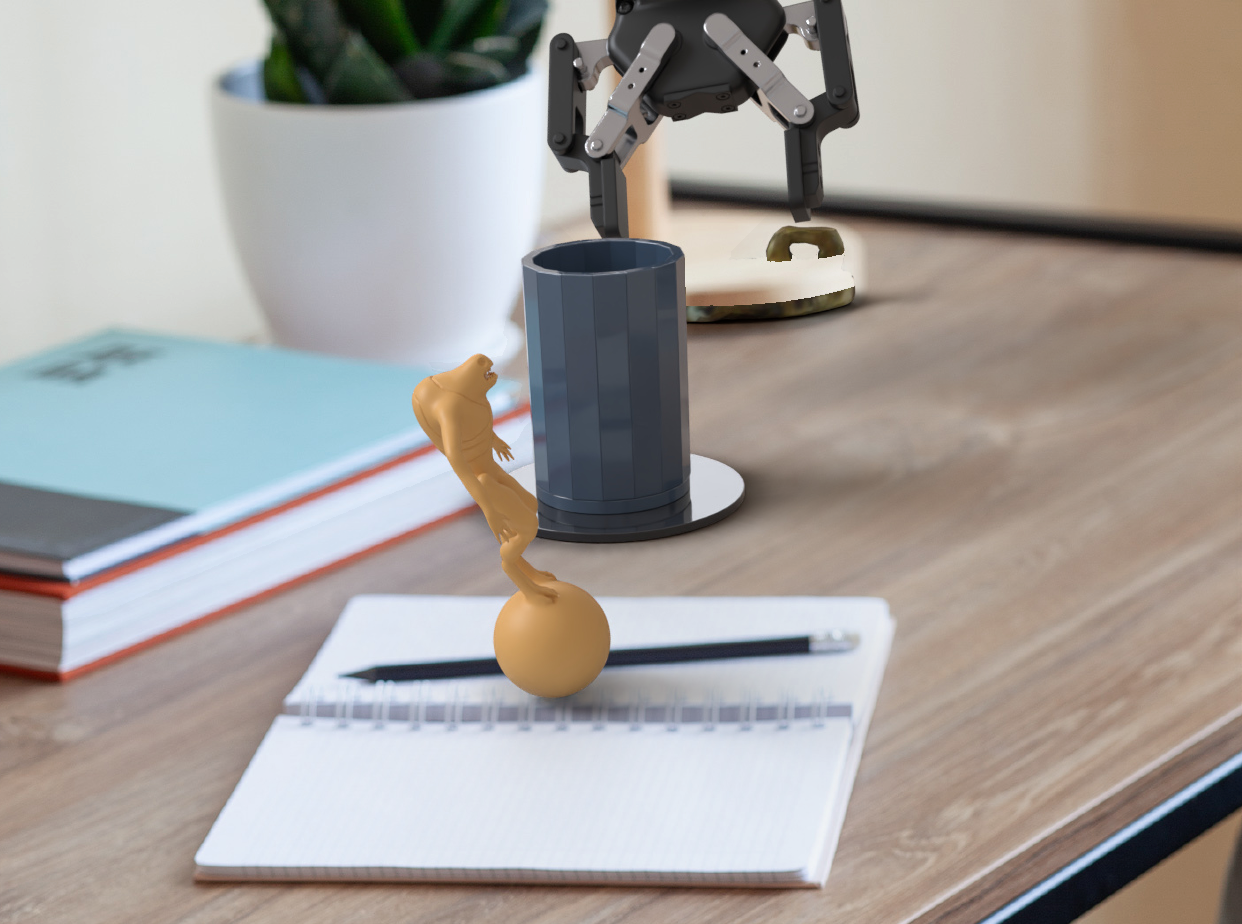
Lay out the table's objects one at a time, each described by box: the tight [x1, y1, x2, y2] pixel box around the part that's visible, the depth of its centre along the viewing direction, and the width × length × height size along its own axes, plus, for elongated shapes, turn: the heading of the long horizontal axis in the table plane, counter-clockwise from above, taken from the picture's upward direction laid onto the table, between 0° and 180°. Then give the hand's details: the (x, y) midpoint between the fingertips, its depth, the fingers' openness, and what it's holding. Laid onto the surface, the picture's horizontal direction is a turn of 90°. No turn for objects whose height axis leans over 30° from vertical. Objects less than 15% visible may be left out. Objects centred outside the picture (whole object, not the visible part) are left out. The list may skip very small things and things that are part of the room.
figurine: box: [411, 353, 612, 699], centre depth 69 cm, size 8×6×12 cm
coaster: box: [507, 453, 746, 543], centre depth 89 cm, size 11×11×1 cm
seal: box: [686, 225, 856, 323], centre depth 118 cm, size 9×5×15 cm
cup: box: [520, 237, 691, 514], centre depth 87 cm, size 7×7×10 cm
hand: (708, 229), depth 96 cm, fingers open, 8 cm apart
